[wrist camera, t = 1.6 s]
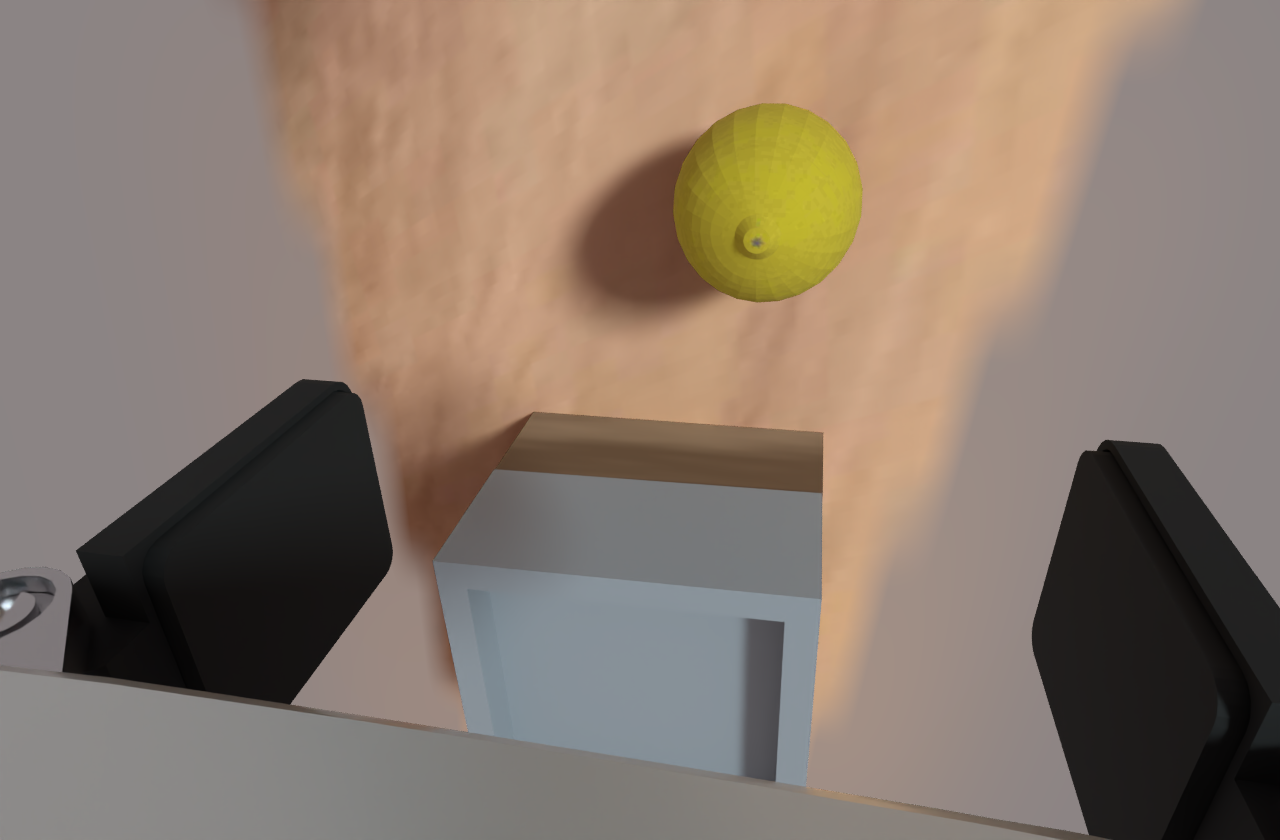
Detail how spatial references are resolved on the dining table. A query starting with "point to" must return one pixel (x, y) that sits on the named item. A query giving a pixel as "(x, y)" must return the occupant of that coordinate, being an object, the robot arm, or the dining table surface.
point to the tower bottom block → (668, 452)
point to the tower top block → (639, 619)
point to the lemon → (767, 202)
